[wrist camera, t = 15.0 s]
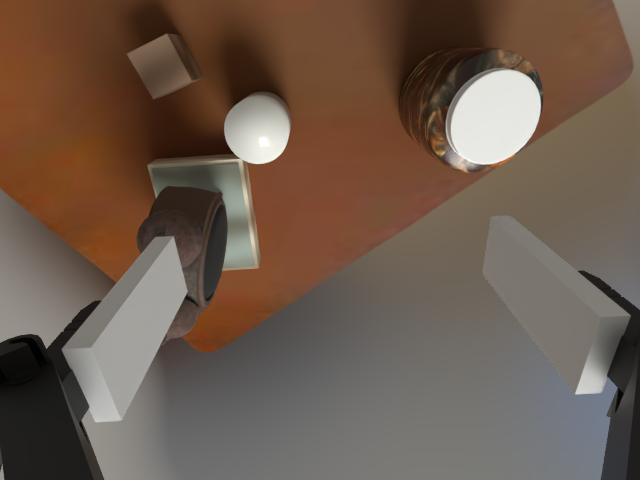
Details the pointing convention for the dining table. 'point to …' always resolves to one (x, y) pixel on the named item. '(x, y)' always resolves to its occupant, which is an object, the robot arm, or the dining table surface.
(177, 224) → the alarm clock
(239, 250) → the picture frame
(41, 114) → the dining table surface
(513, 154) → the jar
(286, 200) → the dining table surface
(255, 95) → the dome-top cylinder
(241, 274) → the dining table surface
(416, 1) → the dining table surface
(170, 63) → the walnut block
